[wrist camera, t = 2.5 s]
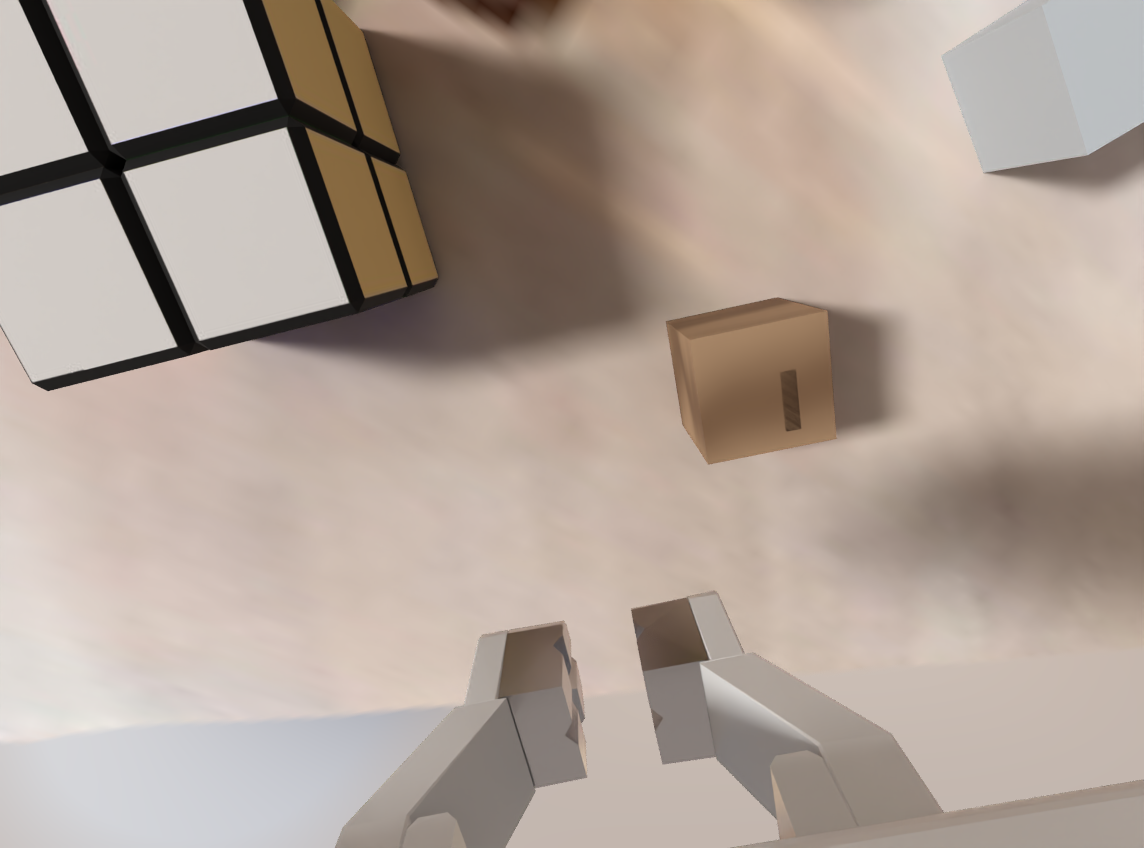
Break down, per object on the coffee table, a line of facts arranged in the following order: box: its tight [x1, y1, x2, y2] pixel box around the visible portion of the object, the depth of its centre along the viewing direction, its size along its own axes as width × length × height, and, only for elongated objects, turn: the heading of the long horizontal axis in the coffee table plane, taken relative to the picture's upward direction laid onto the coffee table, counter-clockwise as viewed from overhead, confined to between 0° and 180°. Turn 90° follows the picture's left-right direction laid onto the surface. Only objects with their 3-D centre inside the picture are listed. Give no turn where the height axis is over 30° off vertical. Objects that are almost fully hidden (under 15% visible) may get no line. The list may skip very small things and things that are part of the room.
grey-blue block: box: [941, 0, 1144, 173], centre depth 20 cm, size 5×5×5 cm
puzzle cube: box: [0, 0, 438, 391], centre depth 19 cm, size 10×10×10 cm
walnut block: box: [666, 298, 836, 464], centre depth 23 cm, size 5×5×5 cm
